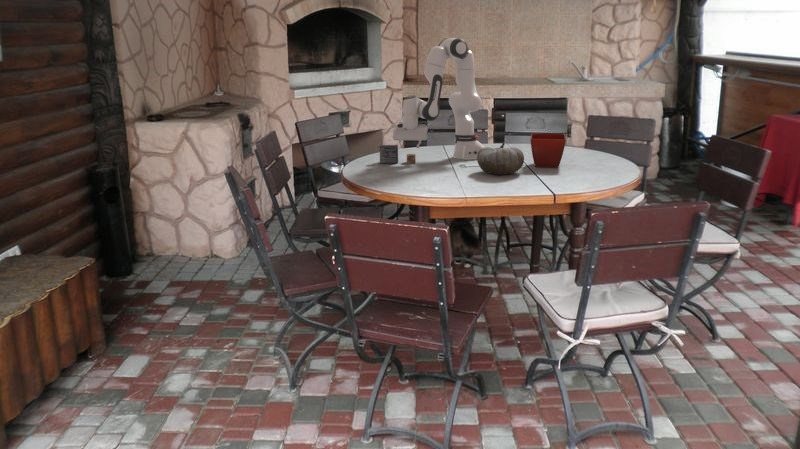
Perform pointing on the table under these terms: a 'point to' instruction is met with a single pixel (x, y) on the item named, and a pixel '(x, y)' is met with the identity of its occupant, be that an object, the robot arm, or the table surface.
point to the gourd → (500, 160)
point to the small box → (388, 154)
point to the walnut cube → (411, 159)
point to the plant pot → (547, 149)
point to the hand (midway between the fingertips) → (409, 147)
